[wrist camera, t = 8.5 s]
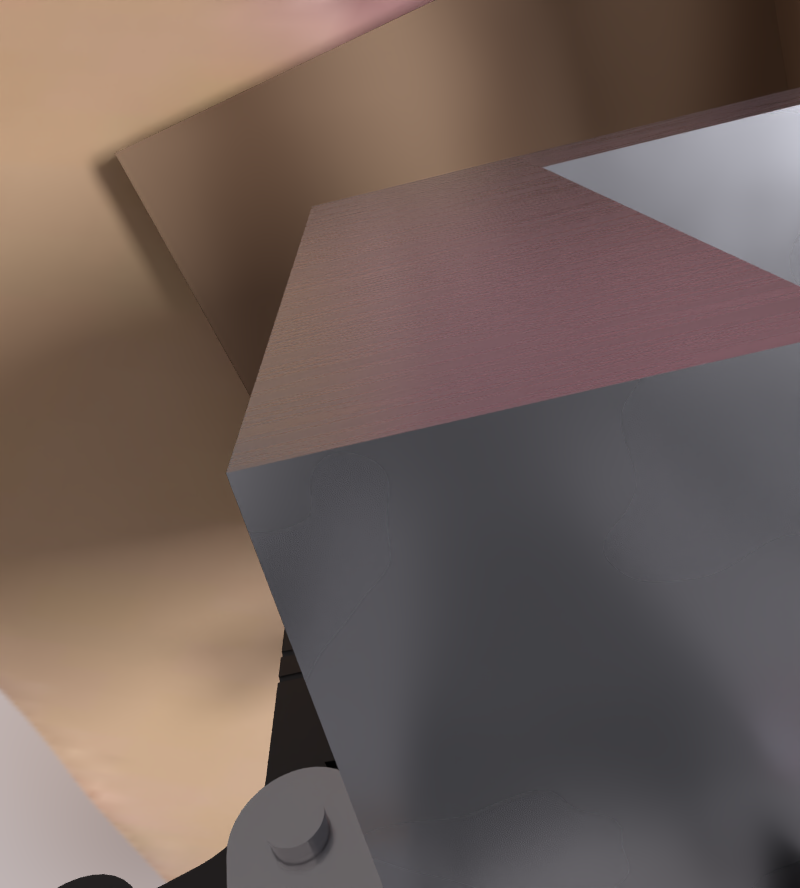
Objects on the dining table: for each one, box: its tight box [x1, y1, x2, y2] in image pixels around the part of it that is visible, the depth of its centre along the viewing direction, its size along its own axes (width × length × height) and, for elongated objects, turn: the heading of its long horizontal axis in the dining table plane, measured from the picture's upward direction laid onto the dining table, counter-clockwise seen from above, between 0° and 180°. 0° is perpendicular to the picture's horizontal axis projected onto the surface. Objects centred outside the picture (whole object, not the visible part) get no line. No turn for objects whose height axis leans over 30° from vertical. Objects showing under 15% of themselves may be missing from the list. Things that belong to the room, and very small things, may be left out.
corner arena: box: [115, 0, 800, 397], centre depth 17 cm, size 16×16×7 cm
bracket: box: [226, 87, 800, 888], centre depth 9 cm, size 10×8×8 cm
